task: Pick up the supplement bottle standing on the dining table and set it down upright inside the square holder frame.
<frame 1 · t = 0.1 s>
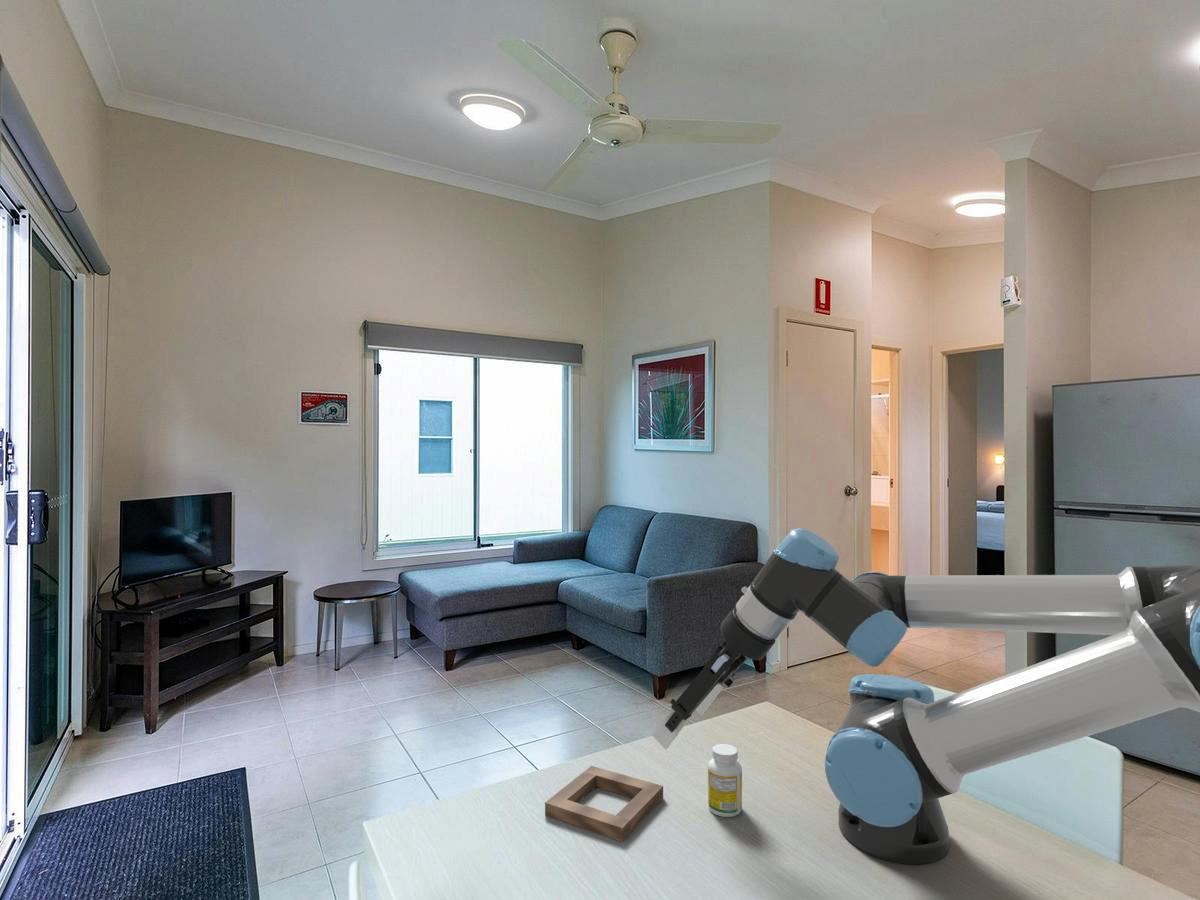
hand: (678, 724, 102), 15 cm above the table, tool tilted 35°, fingers open, 13 cm apart
supplement bottle: (725, 810, 106), on the table
holder frame: (605, 806, 107), on the table
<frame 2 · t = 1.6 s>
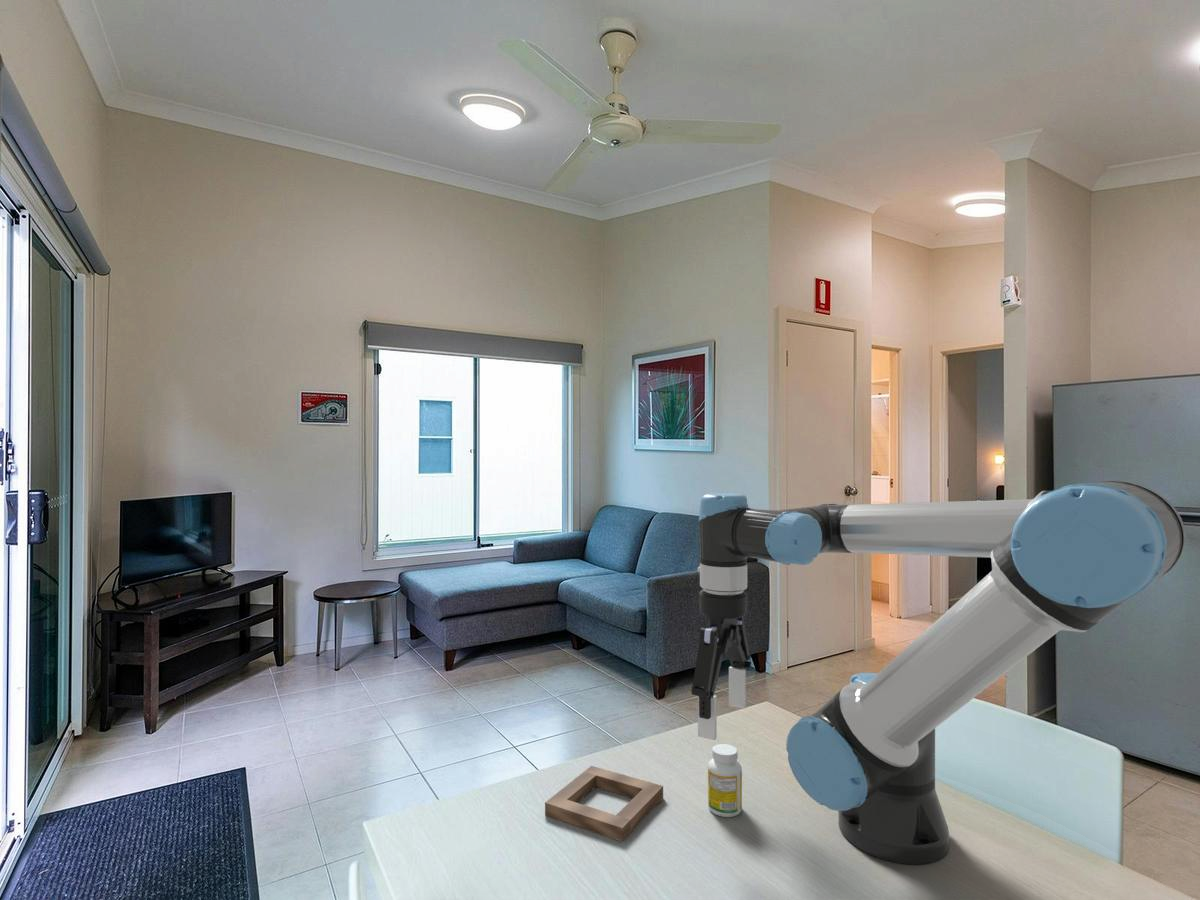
hand: (722, 721, 106), 14 cm above the table, tool pointing down, fingers open, 13 cm apart
nothing on the table moved.
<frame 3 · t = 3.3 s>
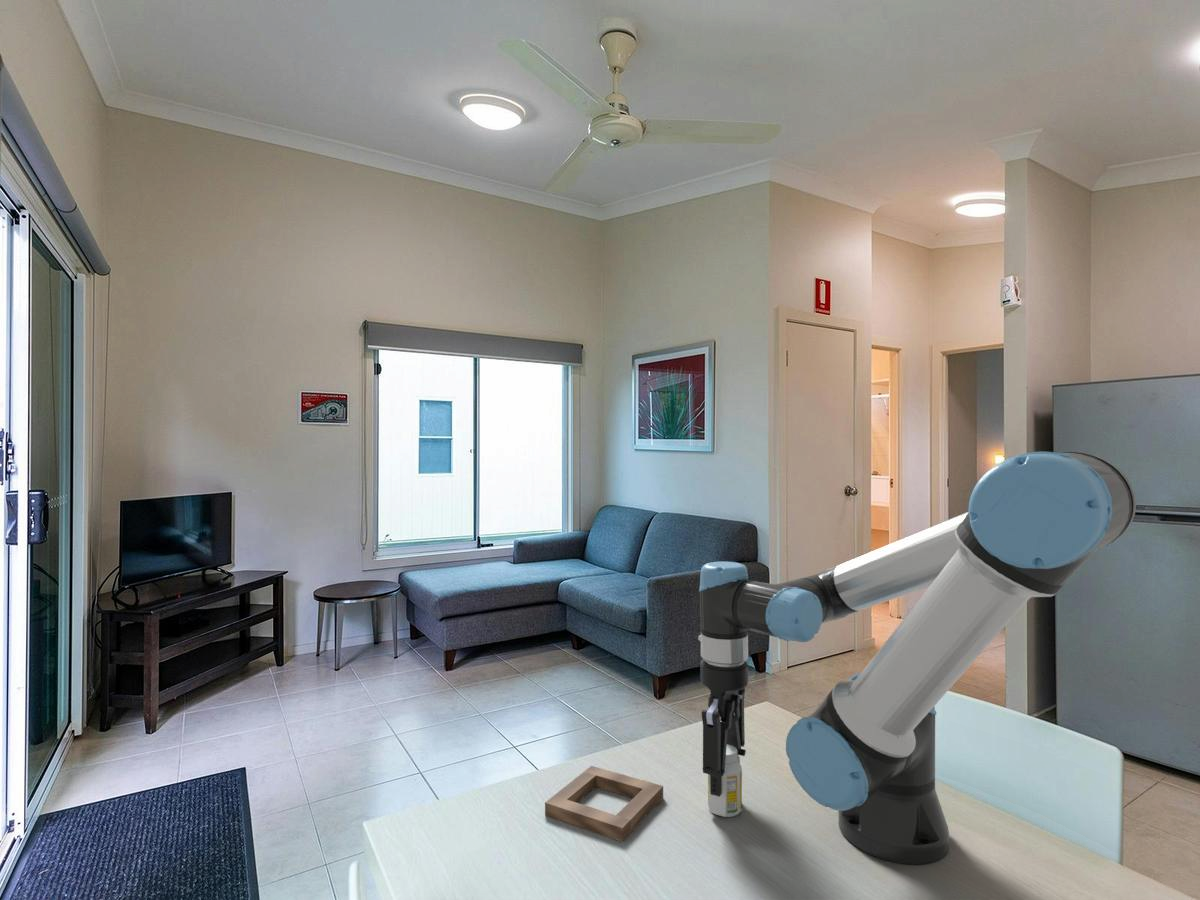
hand: (725, 803, 106), 1 cm above the table, tool pointing down, fingers closed on supplement bottle, 5 cm apart
supplement bottle: (725, 810, 106), on the table, touching gripper
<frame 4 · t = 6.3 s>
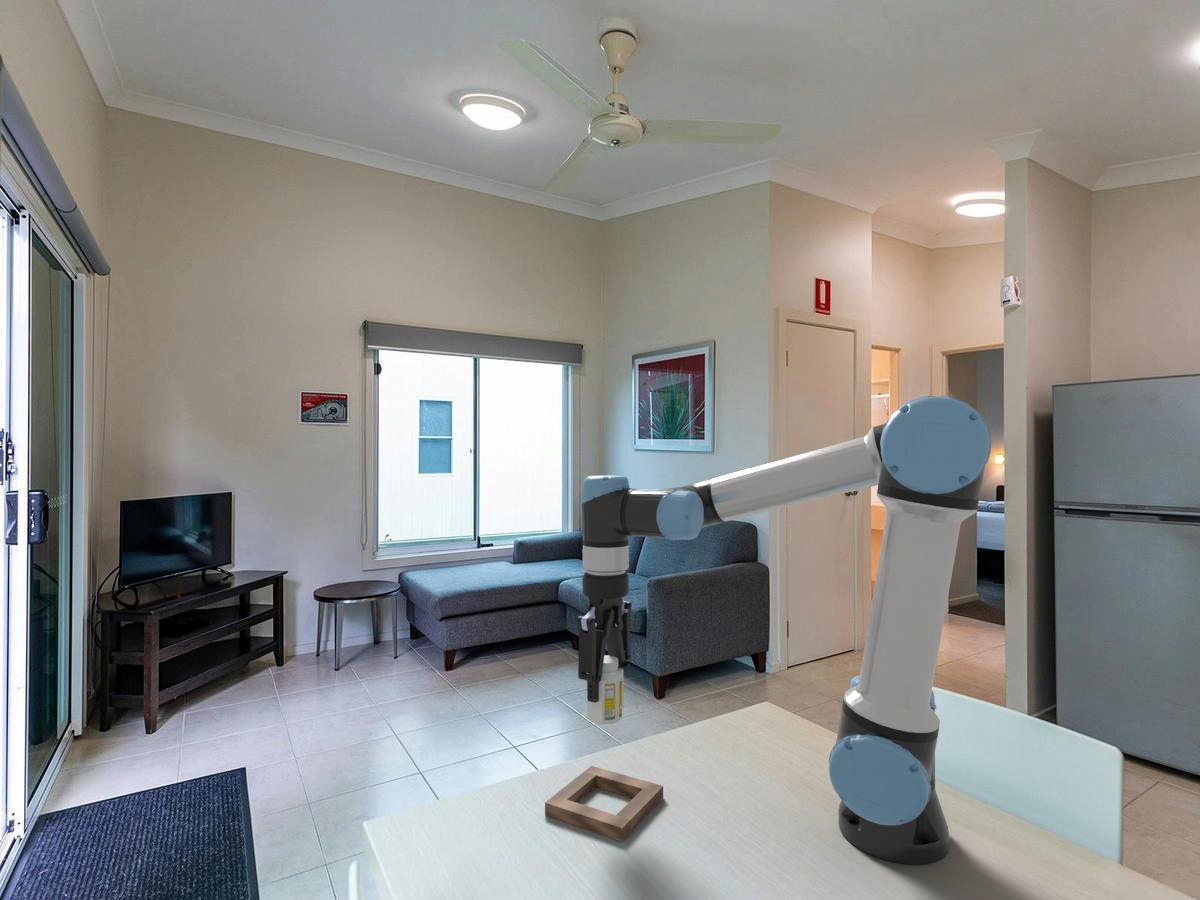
hand: (605, 713, 107), 15 cm above the table, tool pointing down, fingers closed on supplement bottle, 5 cm apart
supplement bottle: (605, 719, 107), point 14 cm above the table, touching gripper
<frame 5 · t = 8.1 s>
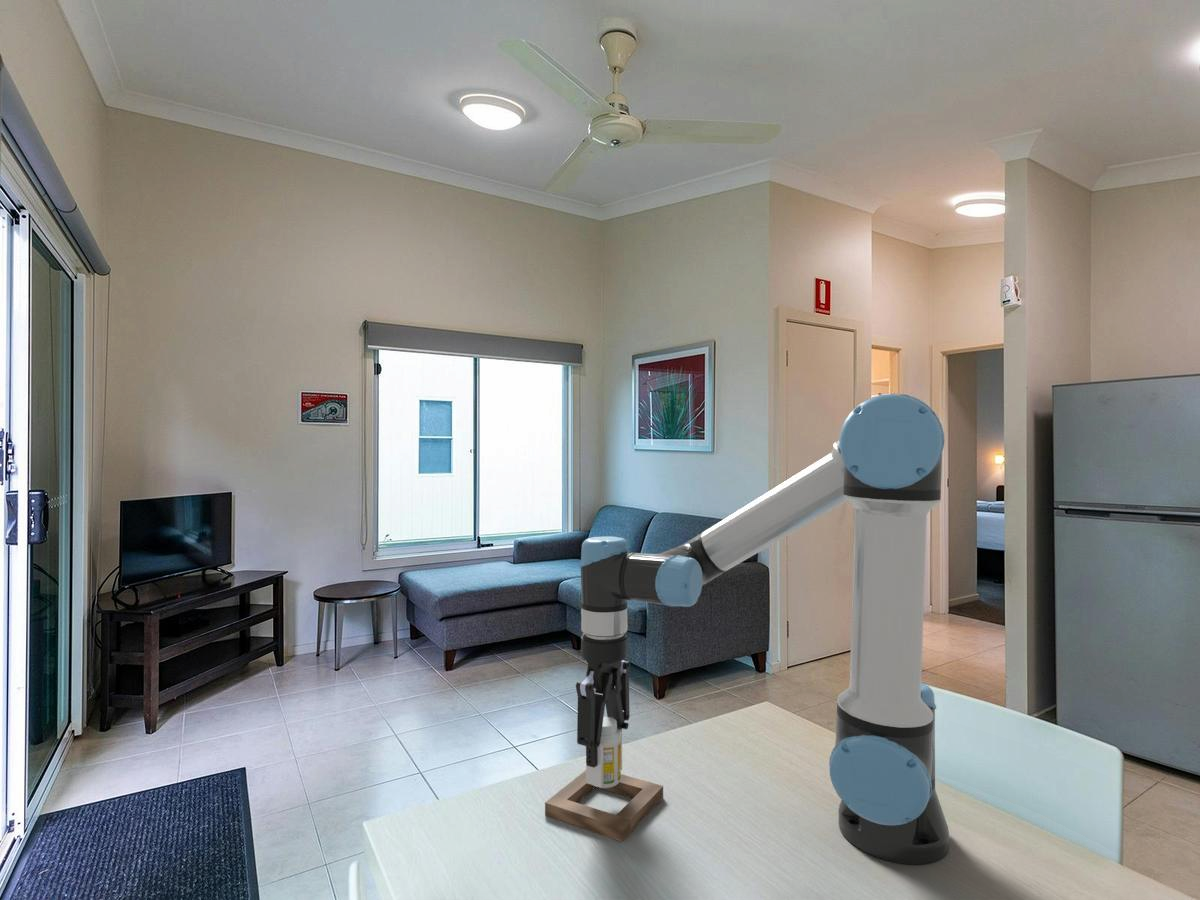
hand: (604, 775, 107), 5 cm above the table, tool pointing down, fingers closed on supplement bottle, 5 cm apart
supplement bottle: (604, 781, 107), point 4 cm above the table, touching gripper
when the fingers open (3 cm above the table, at t = 9.3 s): supplement bottle drops 2 cm, resting in holder frame.
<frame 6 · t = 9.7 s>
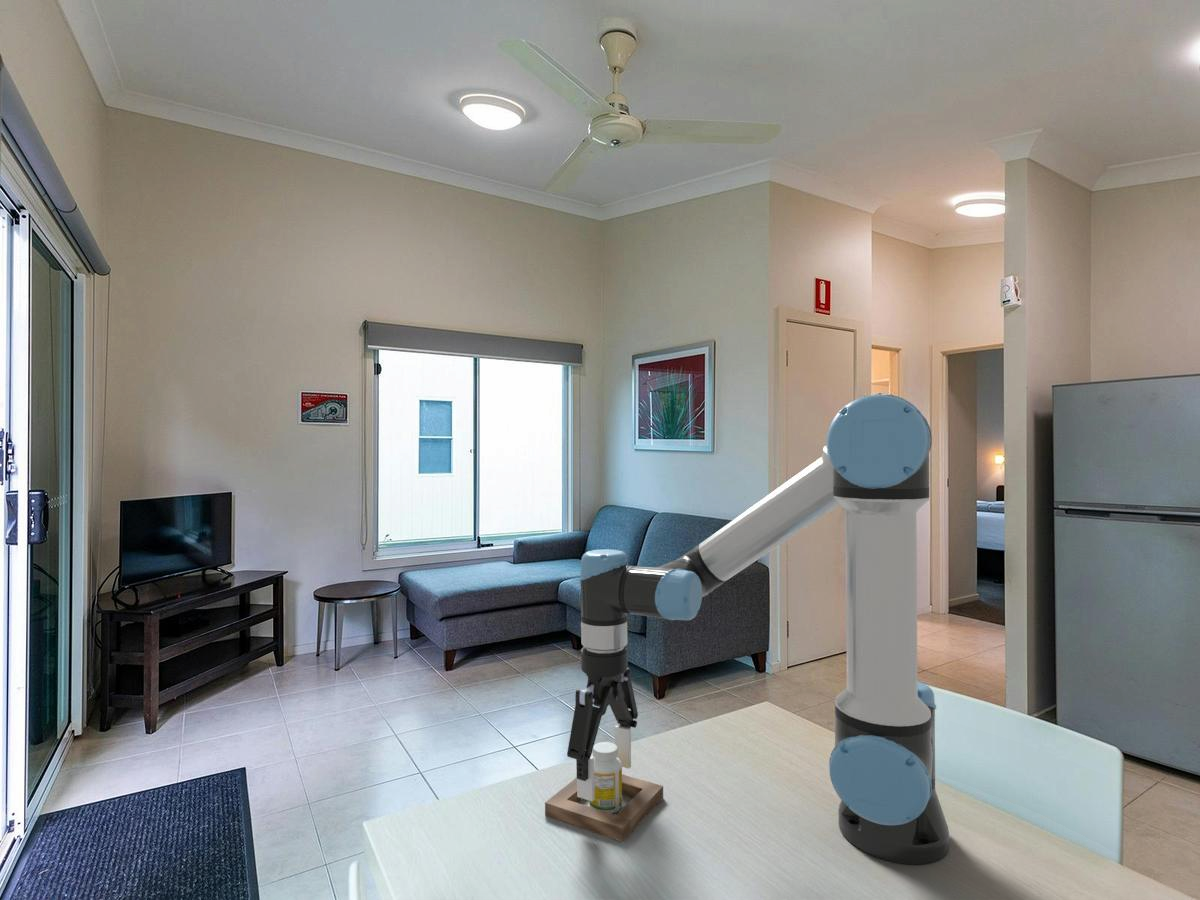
hand: (605, 781, 107), 4 cm above the table, tool pointing down, fingers open, 11 cm apart
supplement bottle: (606, 807, 107), resting in holder frame
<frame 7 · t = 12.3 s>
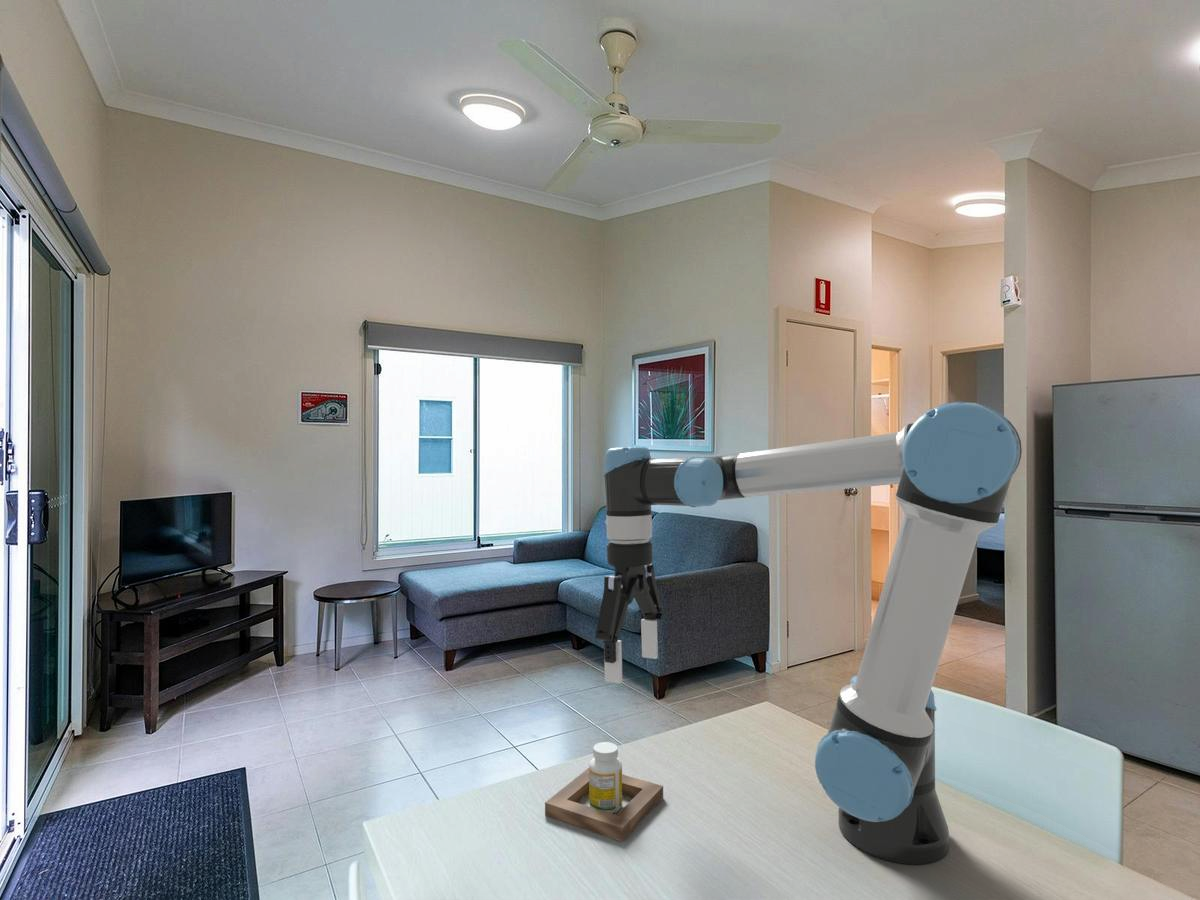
hand: (632, 669, 109), 22 cm above the table, tool pointing down, fingers open, 13 cm apart
nothing on the table moved.
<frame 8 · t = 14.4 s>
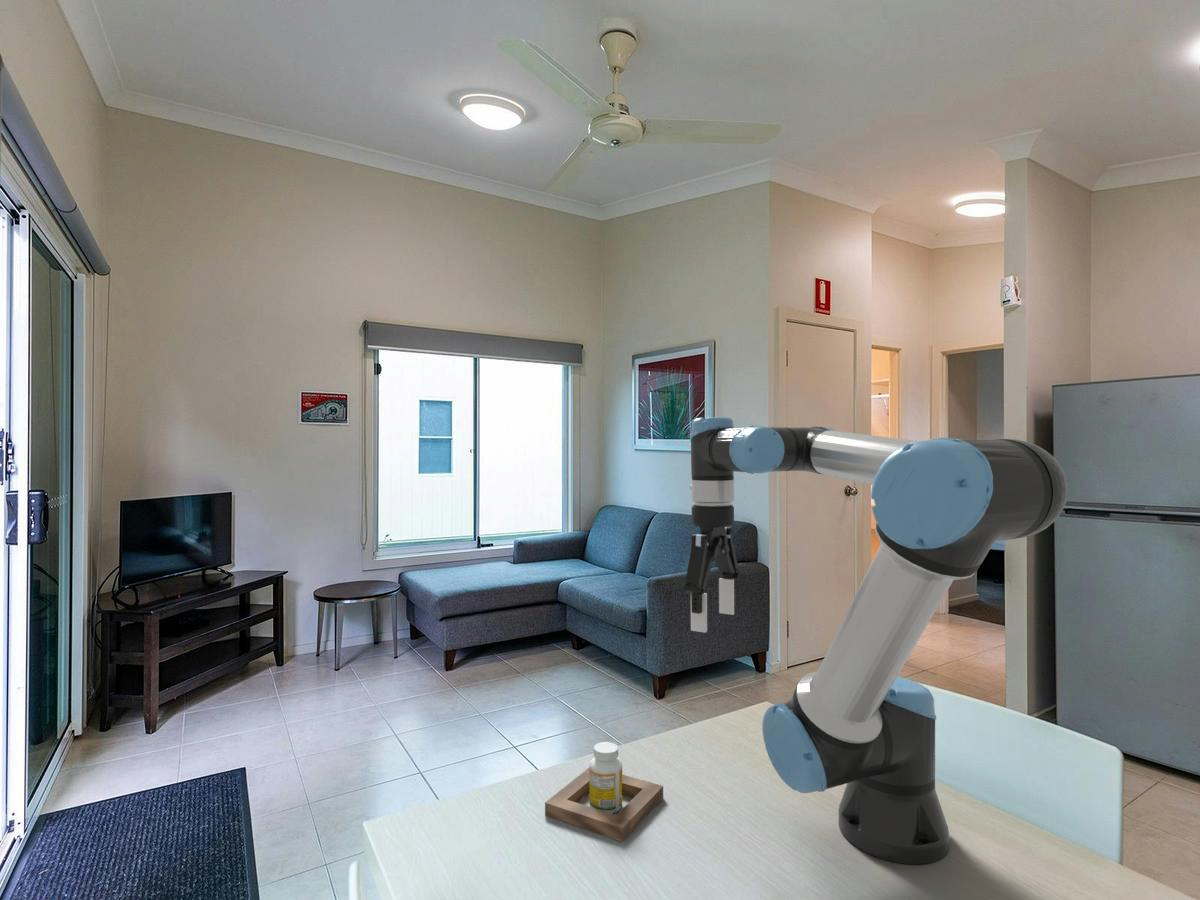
hand: (713, 622, 119), 27 cm above the table, tool pointing down, fingers open, 13 cm apart
nothing on the table moved.
at the end: supplement bottle 0.1 cm off-centre on the holder frame, point 0.0 cm above the holder frame's base; supplement bottle tilted 0°; the gripper is holding nothing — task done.
